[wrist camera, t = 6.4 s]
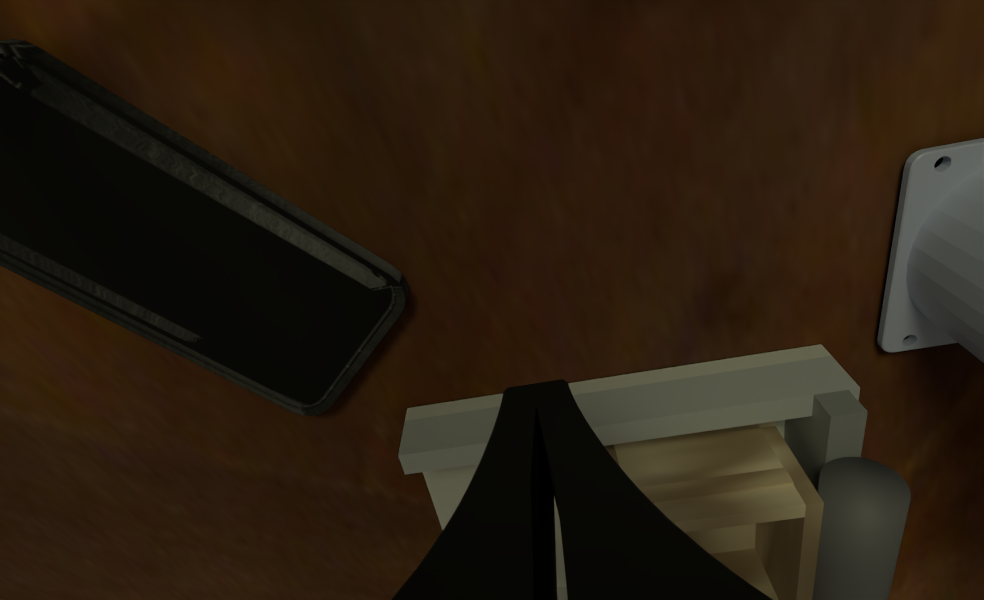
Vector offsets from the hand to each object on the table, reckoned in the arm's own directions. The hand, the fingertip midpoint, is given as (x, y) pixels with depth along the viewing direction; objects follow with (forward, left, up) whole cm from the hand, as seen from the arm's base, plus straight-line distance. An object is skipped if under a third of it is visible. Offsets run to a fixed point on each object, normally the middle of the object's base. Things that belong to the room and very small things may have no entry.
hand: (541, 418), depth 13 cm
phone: (+12, -2, -10) cm, 16 cm away
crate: (-5, +13, -8) cm, 16 cm away
